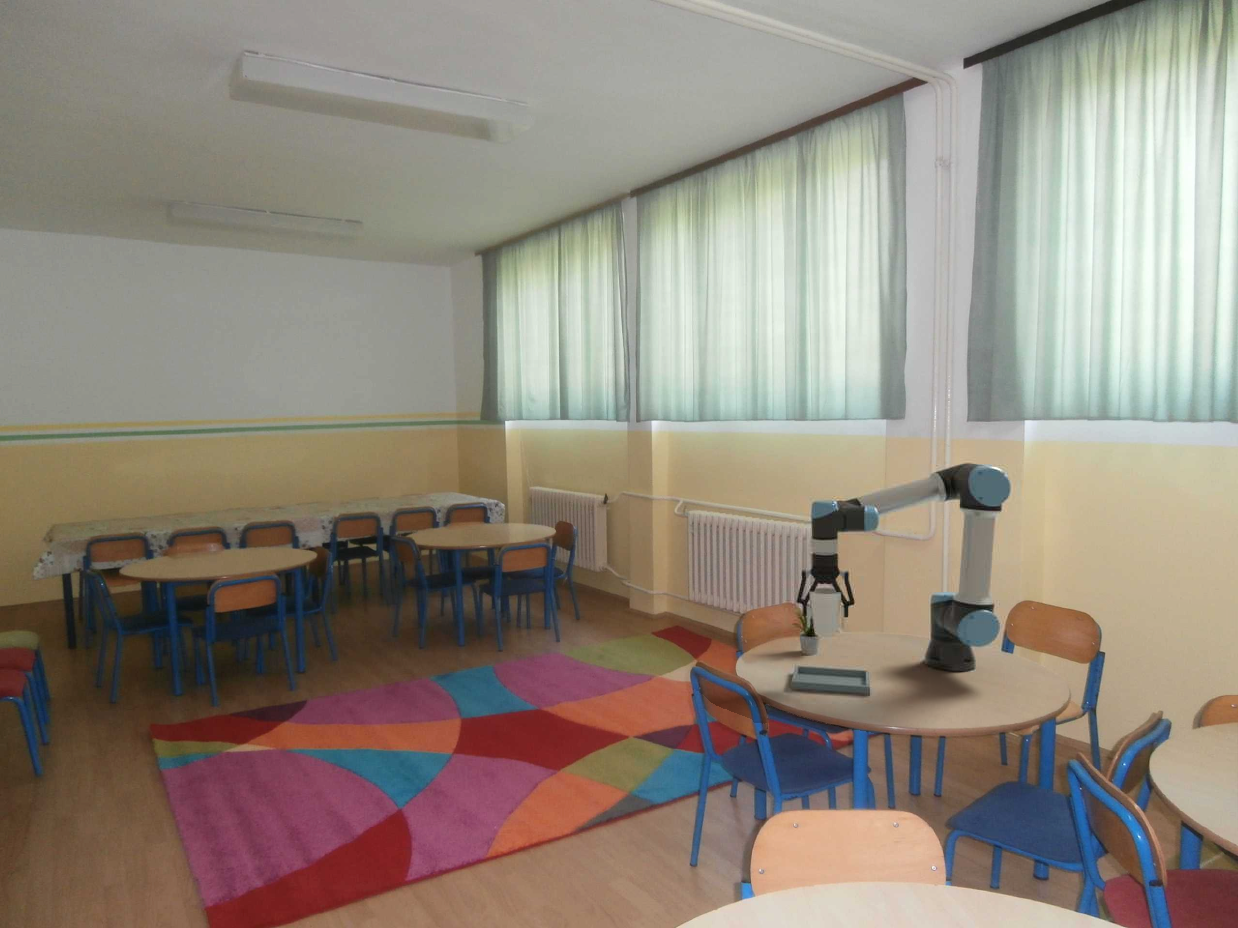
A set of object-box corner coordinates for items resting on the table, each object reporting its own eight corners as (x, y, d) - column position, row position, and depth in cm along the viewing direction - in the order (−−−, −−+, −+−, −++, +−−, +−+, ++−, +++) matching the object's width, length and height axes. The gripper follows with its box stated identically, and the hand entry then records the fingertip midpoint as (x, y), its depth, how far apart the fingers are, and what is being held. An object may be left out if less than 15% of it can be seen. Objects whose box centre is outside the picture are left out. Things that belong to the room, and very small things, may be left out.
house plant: (788, 659, 275) (788, 610, 274) (781, 647, 289) (781, 600, 288) (832, 658, 274) (832, 609, 273) (823, 647, 288) (823, 600, 287)
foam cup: (839, 629, 253) (839, 587, 252) (844, 638, 244) (844, 594, 243) (807, 629, 254) (807, 587, 253) (811, 638, 245) (810, 594, 244)
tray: (869, 678, 254) (869, 670, 254) (869, 695, 239) (869, 686, 239) (795, 673, 260) (795, 665, 260) (791, 689, 245) (791, 681, 245)
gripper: (863, 551, 248) (864, 625, 249) (788, 549, 254) (789, 622, 256) (863, 555, 241) (864, 632, 242) (786, 554, 247) (787, 628, 248)
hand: (825, 627), depth 249 cm, fingers closed on foam cup, 9 cm apart
